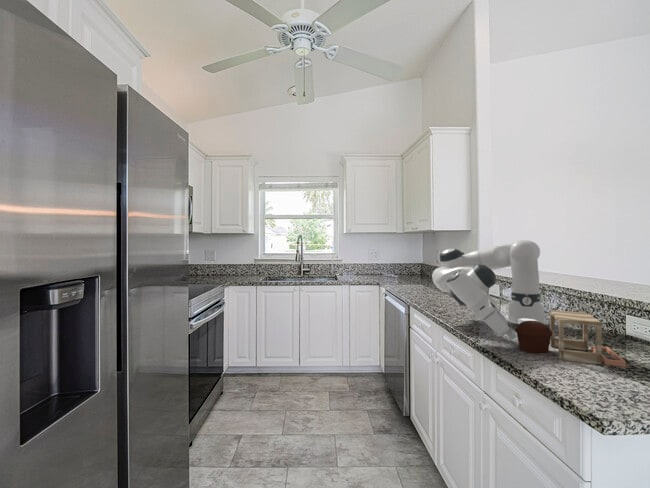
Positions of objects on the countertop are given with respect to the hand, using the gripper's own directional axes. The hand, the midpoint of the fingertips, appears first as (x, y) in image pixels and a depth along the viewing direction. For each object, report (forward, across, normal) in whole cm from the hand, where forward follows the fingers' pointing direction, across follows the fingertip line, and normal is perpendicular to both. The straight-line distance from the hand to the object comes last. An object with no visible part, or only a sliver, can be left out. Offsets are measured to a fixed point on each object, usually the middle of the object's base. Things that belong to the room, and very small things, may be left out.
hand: (514, 337), depth 124 cm
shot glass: (+7, -20, +2) cm, 21 cm away
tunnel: (+15, -1, +10) cm, 18 cm away
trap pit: (+22, -1, +16) cm, 27 cm away
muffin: (+7, -1, +1) cm, 7 cm away
